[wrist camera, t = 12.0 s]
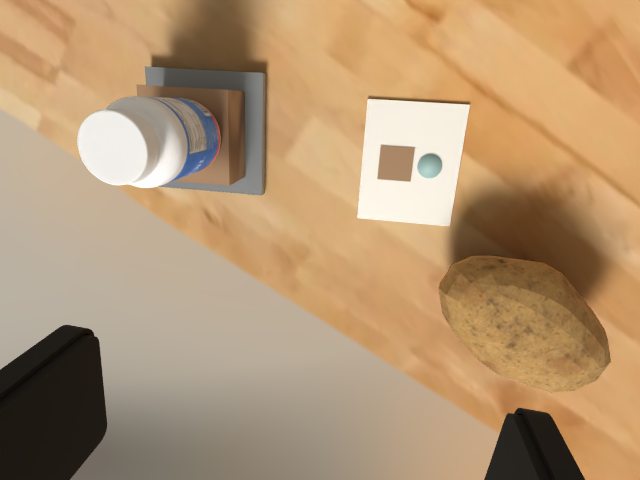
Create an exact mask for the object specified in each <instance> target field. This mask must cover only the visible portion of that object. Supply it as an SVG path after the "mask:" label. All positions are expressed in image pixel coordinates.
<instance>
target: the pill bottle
mask: <svg viewBox="0 0 640 480" xmlns="http://www.w3.org/2000/svg"><path fill="white" fill-rule="evenodd" d="M220 143H221V136H220V130H219V126H218V123H217V121H216V119H215V118H214V116H213V115H212V113H211V112H210V111H209V110H208V109H207V108H206V107H204V106H203V105H202V104H200V103H198V102H196V101H193V100H190V99H184V98H163V97H142V96H133V97H125V98H122V99H119V100H117V101H115V102H113V103H112V104H111V105H109V106H108V107H107V108H106V109H105V110H99V111H96V112H94V113H92V114H90V115H89V116H88V117H87V118H86V119H85V120H84V121H83V123H82V125H81V126H80V129H79V132H78V149H79V153H80V156H81V159H82V160H83V163H84V164H85V166H86V167H87V168H88V169H89V171H90V172H91V173H92V174H93V175H94V176H95V177H97V178H98V179H100V180H101V181H104V182H106V183H109V184H113V185H126V184H129V185H132V186H136V187H141V188H153V187H157V186H161V185H164V184H167V183H169V182H172V181H174V180H177V179H180V178H182V177H185V176H187V175H190V174H193V173H195V172H198V171H200V170H203V169H205V168H206V167H207V166H209V165H210V164H211V163H212V162H213V161H214V160H215V158H216V156H217V154H218V152H219V149H220Z"/></svg>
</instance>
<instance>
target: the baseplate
mask: <svg viewBox="0 0 640 480" xmlns="http://www.w3.org/2000/svg"><path fill="white" fill-rule="evenodd" d="M145 74H146V85H151V86H168V87H186V88H203V89H220V90H234V91H244V92H245V177H244V178H242V179H241V180H239V181H237V182H235V183H233V184H231V185H230V186H228V185H216V184H204V183H192V182H180V181H172V182H169V183H167V184H164V185H161V186H159V187H170V188H182V189H194V190H205V191H217V192H229V193H240V194H252V195H263V194H264V193H265V124H266V73H259V72H240V71H221V70H202V69H182V68H163V67H145Z"/></svg>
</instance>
